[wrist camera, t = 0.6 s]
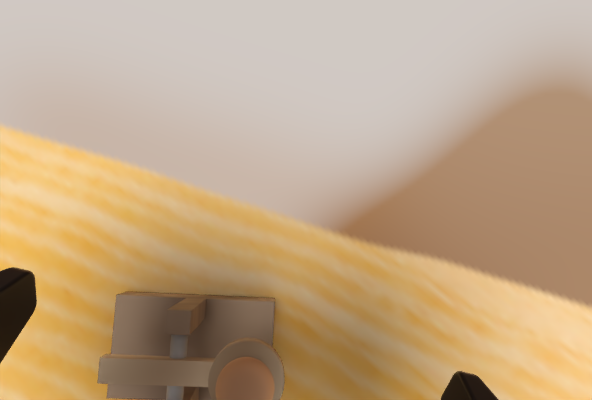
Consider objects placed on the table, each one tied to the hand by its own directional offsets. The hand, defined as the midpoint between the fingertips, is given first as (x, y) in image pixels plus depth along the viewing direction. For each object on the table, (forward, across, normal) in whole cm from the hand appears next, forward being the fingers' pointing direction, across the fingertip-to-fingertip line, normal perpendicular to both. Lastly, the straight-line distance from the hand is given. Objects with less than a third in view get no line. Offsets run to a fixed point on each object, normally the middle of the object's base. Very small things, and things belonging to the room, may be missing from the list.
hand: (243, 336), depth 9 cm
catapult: (+10, +3, +11) cm, 15 cm away
